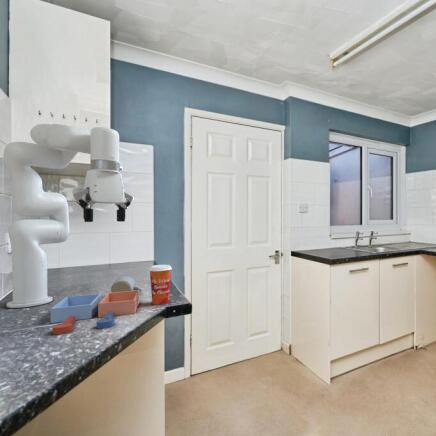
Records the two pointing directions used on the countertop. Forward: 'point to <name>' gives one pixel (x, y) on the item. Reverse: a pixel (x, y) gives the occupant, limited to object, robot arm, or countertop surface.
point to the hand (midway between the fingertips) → (105, 221)
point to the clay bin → (119, 303)
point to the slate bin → (76, 307)
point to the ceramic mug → (124, 285)
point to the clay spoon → (64, 326)
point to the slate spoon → (105, 321)
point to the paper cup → (160, 283)
